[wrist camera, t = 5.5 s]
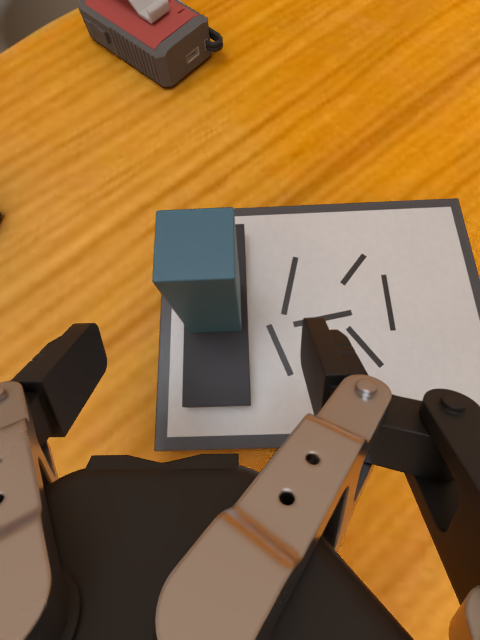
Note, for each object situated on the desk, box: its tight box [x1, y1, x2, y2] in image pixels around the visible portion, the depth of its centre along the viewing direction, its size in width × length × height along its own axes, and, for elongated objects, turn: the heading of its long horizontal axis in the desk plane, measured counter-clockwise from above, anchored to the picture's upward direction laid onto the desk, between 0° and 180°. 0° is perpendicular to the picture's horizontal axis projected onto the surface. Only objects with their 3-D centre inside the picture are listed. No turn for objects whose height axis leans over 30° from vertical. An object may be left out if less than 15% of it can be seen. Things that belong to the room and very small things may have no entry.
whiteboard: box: [154, 198, 480, 451], centre depth 22 cm, size 17×22×1 cm
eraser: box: [152, 207, 251, 408], centre depth 17 cm, size 12×4×10 cm, turn 2°
